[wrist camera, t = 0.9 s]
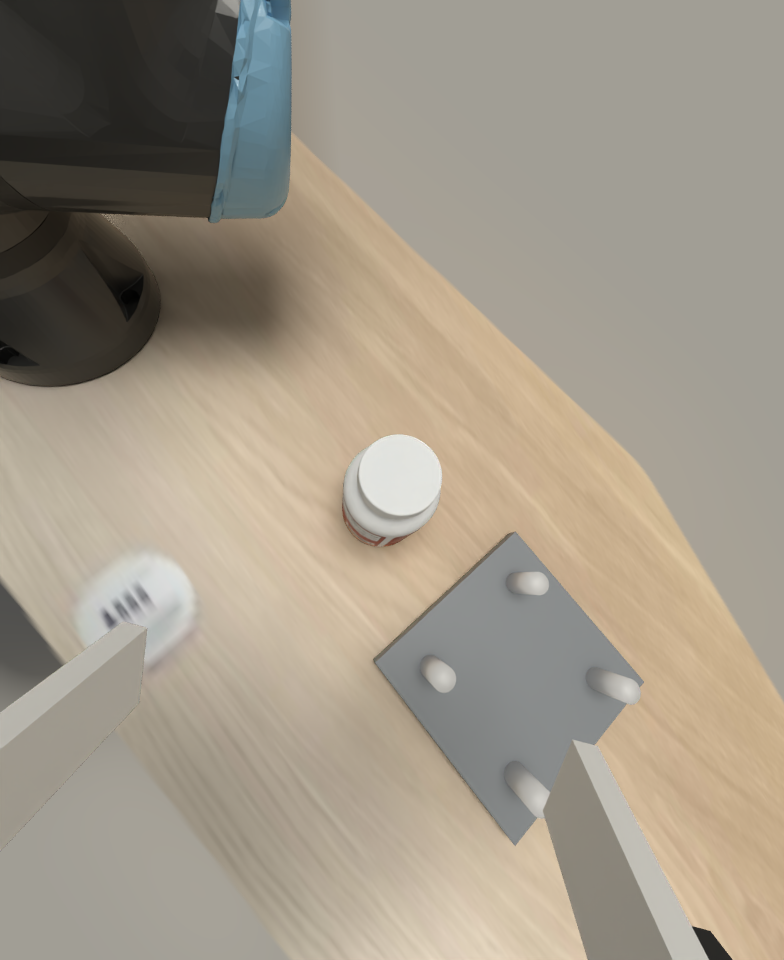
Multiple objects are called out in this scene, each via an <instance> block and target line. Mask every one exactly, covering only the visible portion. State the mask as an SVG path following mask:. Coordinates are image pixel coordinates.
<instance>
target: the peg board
mask: <svg viewBox="0 0 784 960" xmlns="http://www.w3.org/2000/svg"><path fill="white" fill-rule="evenodd" d="M373 660H374V662H375V663H376V665H377V666H378V667H379V669H380V670H381V671H382V673H383V674H384V675H385V677H386V678H387V679H388V680H389V682H390V683H391V684H392V686H393V687H394V688H395V690H396V691H397V692H398V694H399V695H400V696H401V697H402V699H403V700H404V701H405V703H406V704H407V705H408V707H409V708H410V709H411V711H412V712H413V713H414V714H415V716H416V717H417V718H418V720H419V721H420V722H421V724H422V725H423V726H424V728H425V729H426V730H427V731H428V733H429V734H430V735H431V737H432V738H433V739H434V741H435V742H436V743H437V745H438V746H439V747H440V749H441V750H442V751H443V752H444V754H445V755H446V756H447V758H448V759H449V760H450V762H451V763H452V764H453V766H454V767H455V768H456V769H457V771H458V772H459V773H460V775H461V776H462V777H463V779H464V780H465V781H466V783H467V784H468V785H469V786H470V788H471V789H472V790H473V792H474V793H475V794H476V796H477V797H478V798H479V800H480V801H481V802H482V803H483V805H484V806H485V807H486V809H487V810H488V811H489V813H490V814H491V815H492V817H493V818H494V819H495V820H496V822H497V823H498V824H499V826H500V827H501V828H502V830H503V831H504V832H505V834H506V835H507V836H508V837H509V839H510V840H511V841H512V843H513V844H514V845H516V844H517V843H518V842H519V840H520V839H521V838H522V836H523V835H524V834H525V833H526V831H527V830H528V829H529V828H530V826H531V825H532V824H533V822H534V821H535V820H536V819H537V818H541V819H543V818H545V817H544V813H543V809H544V806H545V804H546V801H547V799H548V797H549V794H550V792H551V789H552V787H553V785H554V782H555V780H556V777H557V775H558V773H559V770H560V768H561V766H562V763H563V761H564V758H565V756H566V754H567V751H568V749H569V746H570V744H571V742H572V739H573V740H577V741H580V742H584V743H588V744H592V745H595V744H596V742H597V741H598V740H599V739H600V737H601V736H602V735H603V733H604V732H605V731H606V730H607V728H608V727H609V726H610V725H611V723H612V722H613V721H614V719H615V718H616V717H617V716H618V714H619V713H620V712H621V711H622V709H623V708H624V707H625V705H626V704H630V705H632V704H635V703H637V702H638V701H639V699H640V694H641V692H640V686H641V685H642V684H643V683H644V681H643V680H642V679H641V678H640V677H639V675H638V674H637V673H636V672H635V671H634V670H633V668H632V667H631V666H630V665H629V664H628V662H627V661H626V660H625V659H624V658H623V657H622V655H621V654H620V653H619V652H618V651H617V650H616V648H615V647H614V646H613V645H612V644H611V643H610V641H609V640H608V639H607V638H606V637H605V636H604V634H603V633H602V632H601V631H600V630H599V629H598V627H597V626H596V625H595V624H594V623H593V622H592V620H591V619H590V618H589V617H588V616H587V615H586V613H585V612H584V611H583V610H582V609H581V608H580V606H579V605H578V604H577V603H576V602H575V601H574V599H573V598H572V597H571V596H570V595H569V594H568V592H567V591H566V590H565V589H564V588H563V586H562V585H561V584H560V583H559V582H558V581H557V579H556V578H555V577H554V576H553V575H552V574H551V572H550V571H549V570H548V569H547V568H546V567H545V565H544V564H543V563H542V562H541V561H540V560H539V558H538V557H537V556H536V555H535V554H534V553H533V551H532V550H531V549H530V548H529V547H528V546H527V544H526V543H525V542H524V541H523V540H522V539H521V537H520V536H519V535H518V534H517V533H516V532H513V533H509V534H508V535H507V536H506V537H505V538H504V539H503V540H502V541H500V542H499V543H498V544H497V545H496V546H495V547H494V548H493V549H492V550H491V551H490V552H489V553H488V554H486V555H485V556H484V557H483V558H482V559H481V560H480V561H479V562H478V563H477V564H476V565H475V566H474V567H472V568H471V569H470V570H469V571H468V572H467V573H466V574H465V575H464V576H463V577H462V578H461V579H460V580H458V581H457V582H456V583H455V584H454V585H453V586H452V587H451V588H450V589H449V590H448V591H447V592H446V593H444V594H443V595H442V596H441V597H440V598H439V599H438V600H437V601H436V602H435V603H434V604H433V605H432V606H430V607H429V608H428V609H427V610H426V611H425V612H424V613H423V614H422V615H421V616H420V617H419V618H418V619H416V620H415V621H414V622H413V623H412V624H411V625H410V626H409V627H408V628H407V629H406V630H405V631H404V632H402V633H401V634H400V635H399V636H398V637H397V638H396V639H395V640H394V641H393V642H392V643H391V644H390V645H388V646H387V647H386V648H385V649H384V650H383V651H382V652H381V653H380V654H379V655H378V656H377V657H376V658H374V659H373Z"/></svg>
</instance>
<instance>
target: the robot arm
mask: <svg viewBox="0 0 784 960" xmlns="http://www.w3.org/2000/svg"><path fill="white" fill-rule="evenodd" d="M290 20H291V0H0V376H1V377H3V378H6V379H9V380H12V381H15V382H19V383H24V384H30V385H39V386H60V385H68V384H75V383H79V382H83V381H87V380H90V379H93V378H96V377H99V376H101V375H104V374H106V373H108V372H110V371H112V370H114V369H115V368H117V367H119V366H120V365H122V364H123V363H125V362H126V361H128V360H129V359H130V358H131V357H132V356H134V355H135V354H136V353H137V352H138V351H139V350H140V349H141V348H142V346H143V345H144V344H145V343H146V341H147V340H148V339H149V337H150V335H151V334H152V332H153V330H154V328H155V325H156V323H157V320H158V316H159V311H160V294H159V289H158V285H157V282H156V280H155V278H154V276H153V274H152V272H151V270H150V269H149V267H148V266H147V264H146V262H145V261H144V259H143V257H142V256H141V254H140V252H139V251H138V250H137V248H136V247H135V246H134V245H133V244H132V242H131V241H130V240H129V239H128V238H127V237H126V236H125V235H124V234H123V233H121V232H120V231H119V230H118V229H117V228H116V227H115V226H114V225H112V224H111V223H110V222H109V221H108V220H107V219H106V218H105V217H103V216H102V215H101V214H100V213H103V214H127V215H151V216H176V217H200V218H208V221H209V222H210V223H217V222H219V221H220V219H239V218H267V217H271V216H273V215H275V214H276V213H277V212H278V211H279V210H280V209H281V208H282V207H283V205H284V203H285V201H286V199H287V196H288V191H289V180H290V157H291V70H292V69H291V28H290ZM146 636H147V628H146V627H142V626H138V625H134V624H131V623H127V622H122V623H121V624H119V625H118V626H117V627H115V628H114V629H112V630H111V631H110V632H108V633H107V634H106V635H104V636H103V637H102V638H100V639H99V640H98V641H96V642H95V643H93V644H92V645H91V646H89V647H88V648H87V649H85V650H84V651H83V652H81V653H80V654H79V655H77V656H76V657H74V658H73V659H72V660H70V661H69V662H68V663H66V664H65V665H64V666H62V667H61V668H60V669H58V670H57V671H56V672H54V673H53V674H51V675H50V676H49V677H47V678H46V679H45V680H43V681H42V682H41V683H39V684H38V685H37V686H35V687H34V688H32V689H31V690H30V691H28V692H27V693H26V694H24V695H23V696H22V697H20V698H19V699H18V700H16V701H15V702H13V703H12V704H11V705H9V706H8V707H7V708H5V709H4V710H3V711H2V712H0V851H1V850H2V849H3V848H4V847H5V846H6V845H7V844H8V842H10V841H11V839H12V838H13V837H14V836H15V835H16V834H17V833H18V832H19V831H20V830H21V829H22V828H23V827H24V825H26V823H27V822H28V821H29V820H30V819H31V818H32V817H33V816H34V815H35V814H36V813H37V812H38V811H39V809H40V808H41V807H42V806H43V805H44V804H45V803H46V802H47V801H48V800H49V799H50V798H51V797H52V796H53V795H54V793H55V792H56V791H57V790H58V789H59V788H60V787H61V786H62V785H63V784H64V783H65V782H66V781H67V780H68V778H69V777H70V776H71V775H72V774H73V773H74V772H75V771H76V770H77V769H78V768H79V767H80V766H81V764H83V762H84V761H85V760H86V759H87V758H88V757H89V756H90V755H91V754H92V753H93V752H94V751H95V750H96V748H97V747H98V746H99V745H100V744H101V743H102V742H103V741H104V740H105V739H106V738H107V737H108V736H109V735H110V734H111V733H112V731H113V730H114V729H115V728H116V727H117V726H118V725H119V724H120V723H121V722H122V721H123V720H124V719H125V718H126V716H127V715H128V714H129V713H130V712H131V711H132V710H133V709H134V708H135V707H136V706H137V705H138V704H139V700H140V691H141V682H142V673H143V664H144V654H145V645H146ZM543 813H544V817H545V820H546V823H547V826H548V830H549V833H550V836H551V840H552V843H553V846H554V850H555V853H556V856H557V860H558V863H559V866H560V869H561V873H562V876H563V879H564V883H565V886H566V889H567V893H568V896H569V899H570V902H571V906H572V909H573V912H574V916H575V919H576V922H577V926H578V929H579V932H580V936H581V939H582V942H583V945H584V949H585V952H586V955H587V959H588V960H732V958H731V957H730V956H729V955H728V953H727V952H726V951H725V949H724V948H723V947H722V946H721V944H720V943H719V942H718V940H717V939H716V938H715V937H714V935H713V934H712V933H711V931H708V930H704V929H701V928H697V927H693V926H691V924H690V922H689V920H688V918H687V917H686V915H685V913H684V911H683V909H682V907H681V905H680V903H679V901H678V899H677V897H676V895H675V893H674V892H673V890H672V888H671V886H670V884H669V882H668V880H667V878H666V876H665V874H664V872H663V870H662V868H661V867H660V865H659V863H658V861H657V859H656V857H655V855H654V853H653V851H652V849H651V847H650V845H649V843H648V842H647V840H646V838H645V836H644V834H643V832H642V830H641V828H640V826H639V824H638V822H637V820H636V818H635V817H634V815H633V813H632V811H631V809H630V807H629V805H628V803H627V801H626V799H625V797H624V795H623V793H622V792H621V790H620V788H619V786H618V784H617V782H616V780H615V778H614V776H613V774H612V772H611V770H610V768H609V767H608V765H607V763H606V761H605V759H604V757H603V755H602V753H601V751H600V749H599V747H598V746H596V745H592V744H588V743H584V742H580V741H577V740H573V739H572V742H571V744H570V746H569V749H568V751H567V754H566V756H565V758H564V761H563V763H562V766H561V768H560V770H559V773H558V775H557V777H556V780H555V782H554V785H553V787H552V789H551V792H550V794H549V797H548V799H547V801H546V804H545V806H544V809H543Z"/></svg>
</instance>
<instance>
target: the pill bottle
mask: <svg viewBox="0 0 784 960" xmlns="http://www.w3.org/2000/svg"><path fill="white" fill-rule="evenodd" d="M441 484H442V470H441V466H440V463H439V460H438V458H437V456H436V455H435V453H434V452H433V451H432V450H431V448H430V447H429V446H427V445H426V444H425V443H424V442H422V441H421V440H419V439H417V438H414V437H412V436H408V435H401V434H398V435H389V436H386V437H383V438H381V439H379V440H377V441H375V442H374V443H373V444H371V445H370V446H369V447H367V448H365V449H363V450H362V451H361V452H360V453H358V454H357V455H356V456H355V458H354V459H353V460H352V462H351V463H350V465H349V467H348V469H347V471H346V474H345V478H344V483H343V503H342V511H343V517H344V521H345V523H346V526H347V527H348V529H349V530H350V532H351V533H352V534H353V535H354V536H355V537H356V538H357V539H358V540H360V541H361V542H363V543H365V544H368V545H371V546H378V547H382V546H389V545H393V544H396V543H398V542H400V541H401V540H403V539H404V538H406V537H407V536H409V535H410V534H412V533H414V532H415V531H417V530H418V529H420V528H421V527H422V526H424V525H425V524H426V523H427V522H428V521H429V519H430V518H431V517H432V516H433V514H434V512H435V511H436V508H437V506H438V503H439V499H440V488H441Z"/></svg>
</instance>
